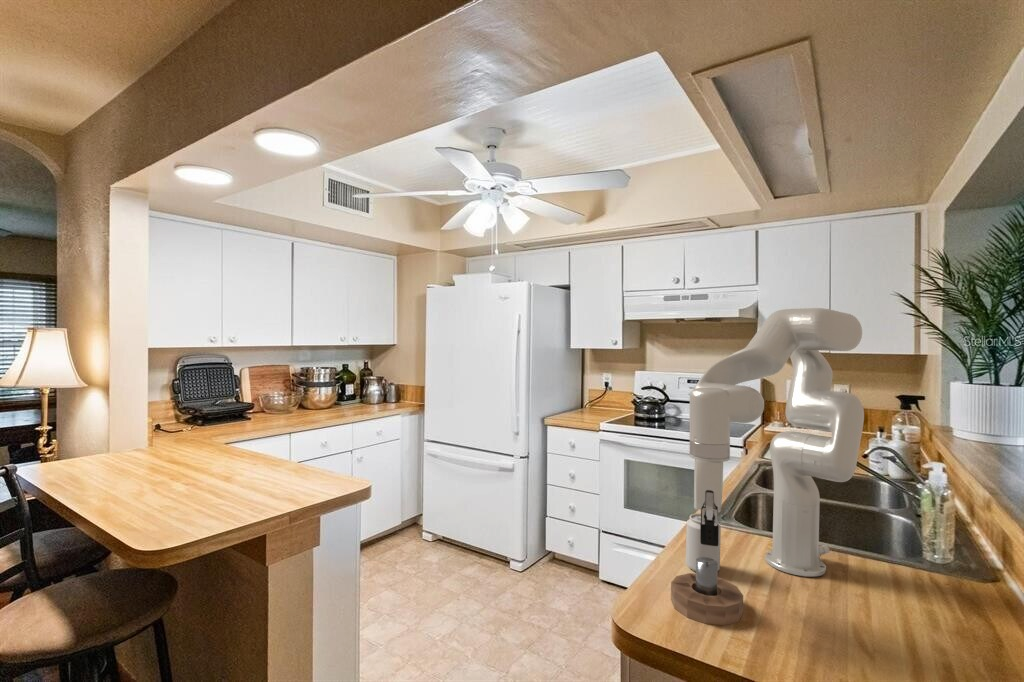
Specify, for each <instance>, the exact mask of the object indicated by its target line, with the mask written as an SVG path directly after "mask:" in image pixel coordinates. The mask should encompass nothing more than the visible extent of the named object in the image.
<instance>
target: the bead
mask: <svg viewBox="0 0 1024 682" xmlns="http://www.w3.org/2000/svg"><path fill="white" fill-rule="evenodd" d="M670 601H671V604H672V606H673V608H674V610H676V611H678V612H679V613H680V614H681V615H683V616H684V617H686V618H687V619H691V620H694V621H696V622H699V623H703V624H705V625H715V626H716V625H717V626H728V625H731V624H735V623H737V622H740V620H741V618H742V617H743V614H744V594H743V593H742V592H741V590H740V589H739V587H738V586H737V585H735V584H733V583H731V582H730V581H729V580H726V579H724V578H722V577H718V579H717V595H716V596H707V595H703V594H700V593H698V592H696V572H695V573H694V572H693V573H692V572H691V573H690V572H687V573H684V574H679V575H676V576H675V577H674V578H673V579H672V581H671V582H670Z"/></svg>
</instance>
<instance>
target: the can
mask: <svg viewBox="0 0 1024 682" xmlns="http://www.w3.org/2000/svg"><path fill="white" fill-rule="evenodd" d="M700 523H701V512H700V513H692V514H690V515H689V519H688V520H687V521H686V531H685V532H686V536H685V539H686V541H685V564H686V566H687V567H688V568H689V569H690V570H691V569H692V570H691V571H693V572H695V573H696V559H697V558H699V557H707V558H711V559H714V560H716V561H717V562H718V571H719V570H720V569H721V540H722V539H721V536H722V535H721V533H722V532H721V531H722V528H721V524H720V523H719V520H718V518H717V525H719V535H718V546H710V545H703V544H701V543H700Z"/></svg>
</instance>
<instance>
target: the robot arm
mask: <svg viewBox="0 0 1024 682" xmlns="http://www.w3.org/2000/svg"><path fill="white" fill-rule="evenodd" d="M862 338H863V328H862V324H861V322H860V321H859V319H858V318H857V317H856V316H854V315H853V314H851V313H846V312H841V311H838V310H834V309H831V308H830V309H829V308H821V307H811V308H809V307H808V308H805V307H804V308H785V309H780V310H775V311H774V312H772V313H771V314H770V315H769V316H768V317H767V318H766V320H764V322H763V324H762V325H761V326H760V327H759V328H758V330H757V332H755V334H754V336H753V337H752V338H751V340H749V342H748V344H747V345H746V346H745V347H744V348H742V349H740V350H737V351H735V352H733V353H732V354H730V355H728V356H726V357H724V358H722V359H720V360H718V361H717V362H715V363H714V364H713V365H711V366H710V367H708V369H707V370H706V371H705V372H704V373H703V374H702V376H701V377H700V379H699V380H698V381H697V382H696V385H695V387H694V388H693V389H692V390H691V391H690V394H689V457H690V458H691V459H694V465H693V466H694V467H693V470H694V471H693V472H694V473H693V475H694V476H693V480H694V481H693V487H694V488H693V498H694V499H693V508H694V510H695V511H698V510H700V514H701V523H700V543H701V544H703V545H710V546H718V535H719V525H720V524H719V525H717V519H718V513H721V511H722V502H723V501H722V499H723V491H724V490H723V489H724V486H723V485H724V462H728V461H730V459H731V424H732V423H733V424H734V423H737V424H738V423H739V424H750V423H752V422H755V421H757V420H758V419H759V418H760V417H761V416H762V414H763V412H764V410H765V399H764V397H763V396H762V394H761V392H760V391H758V390H757V389H756V388H753V387H750V386H747V385H740V384H741V383H746V382H750V381H751V382H752V381H755V380H759V379H760V380H761V379H763V378H768V377H770V376H774V375H777V374H778V373H779V372H780V371H782V369H784V367H785V364H786V363H787V362H788V360H789V358H790V360H791V365H792V374H791V381H790V385H789V390H788V394H787V400H786V403H785V410H784V411H785V419H786V420H787V422H788V423H789V424H791V425H793V426H795V427H799V428H803V429H810V430H814V431H822V432H829V433H831V437H829V436H824V435H817V434H812V433H806V432H799V431H791V430H790V431H787V430H786V431H781V432H779V433H777V434H775V435H774V436H773V437H772V439H771V441H770V445H769V454H770V459H771V465H772V472H773V508H772V509H773V512H772V513H773V516H772V549H771V550H767V552H766V553H765V554H764V555H765V557H764V558H765V561H766V562H767V564H769V566H771V567H772V568H774V569H777V570H779V571H781V572H784V573H787V574H790V575H794V576H800V577H810V578H811V577H813V578H815V577H820V576H824V575H825V574H826V572H827V565H826V564H825V563H824V562H823V561H822V560H821V556H823V555H827V554H829V553H830V547H829V546H828V545H826V544H823V545H820V544H819V543H820V542H819V541H820V531H819V530H820V504H821V503H820V502H821V498H820V497H821V496H820V492H819V487H818V486H817V484H816V482H815V481H814V479H813V478H817V479H822V480H826V481H830V482H831V481H832V482H835V483H845V482H848V481H849V480H850V479H852V477H853V476H854V474H855V471H856V467H857V463H858V459H859V452H860V447H861V446H860V445H861V441H862V435H863V430H864V429H863V427H864V421H865V409H864V405H863V402H862V401H861V399H860V398H859V397H858V396H856V395H855V394H853V393H850V392H845V391H834V390H831V389H832V384H833V382H832V381H833V378H834V377H833V376H834V372H833V369H832V367H831V365H830V363H829V361H828V360H827V359H826V358H825V357H824V355H823V354H822V353H821V352H820V351H833V352H849V351H852V350H854V349H856V348H857V347H858V346H859V344H860V342H861V341H862ZM738 384H739V385H738Z"/></svg>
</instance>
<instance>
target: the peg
mask: <svg viewBox="0 0 1024 682" xmlns="http://www.w3.org/2000/svg"><path fill="white" fill-rule="evenodd" d="M718 572H719V570H718V562H717V561H716V560H714V559H711V558H707V557H699V558H697V559H696V572H695V574H696V592H698V593H700V594H703V595H707V596H716V595H717V579H718V578H719V577H718V575H719V574H718Z"/></svg>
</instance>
